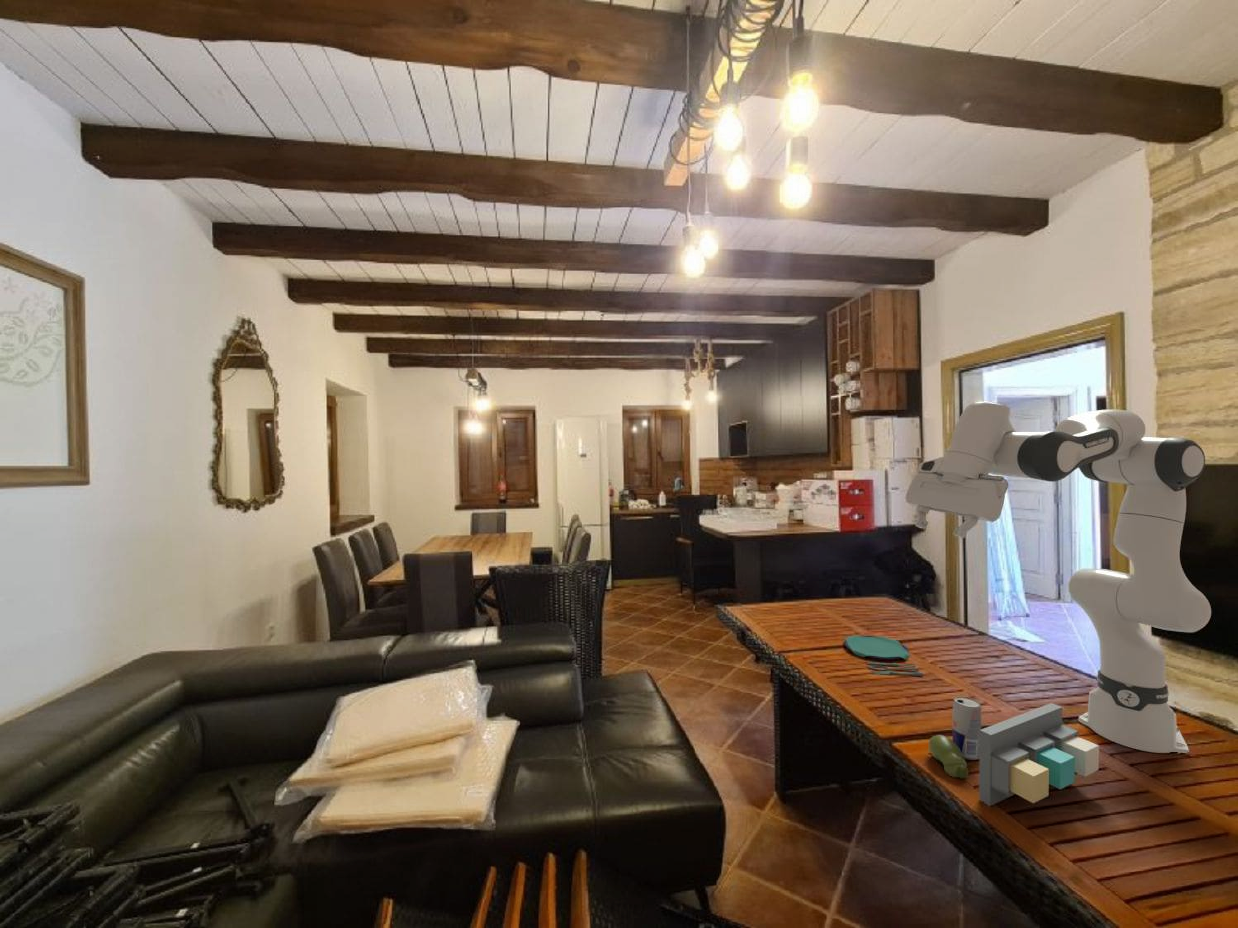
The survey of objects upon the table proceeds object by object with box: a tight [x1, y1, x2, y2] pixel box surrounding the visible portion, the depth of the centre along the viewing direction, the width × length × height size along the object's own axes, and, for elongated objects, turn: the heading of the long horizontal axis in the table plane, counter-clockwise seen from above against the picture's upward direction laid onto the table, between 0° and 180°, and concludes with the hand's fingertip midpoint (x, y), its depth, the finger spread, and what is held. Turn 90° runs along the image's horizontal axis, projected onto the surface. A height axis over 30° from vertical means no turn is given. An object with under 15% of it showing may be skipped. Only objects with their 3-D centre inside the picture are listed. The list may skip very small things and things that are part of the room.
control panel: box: [978, 702, 1080, 807], centre depth 104 cm, size 25×5×14 cm, turn 115°
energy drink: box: [952, 696, 982, 761], centre depth 117 cm, size 5×5×12 cm
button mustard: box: [1010, 758, 1050, 804], centre depth 97 cm, size 5×4×5 cm
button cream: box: [1062, 736, 1100, 777], centre depth 104 cm, size 5×4×5 cm
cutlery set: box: [844, 634, 924, 677], centre depth 172 cm, size 20×30×2 cm, turn 169°
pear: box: [928, 734, 969, 779], centre depth 112 cm, size 6×5×10 cm
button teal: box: [1037, 746, 1076, 790], centre depth 101 cm, size 5×4×5 cm
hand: (938, 531), depth 109 cm, fingers open, 8 cm apart
